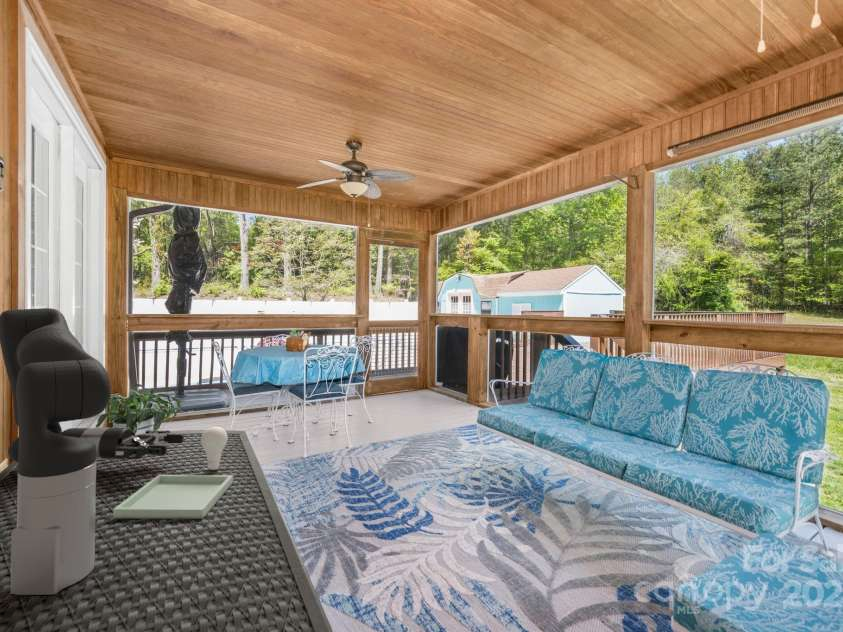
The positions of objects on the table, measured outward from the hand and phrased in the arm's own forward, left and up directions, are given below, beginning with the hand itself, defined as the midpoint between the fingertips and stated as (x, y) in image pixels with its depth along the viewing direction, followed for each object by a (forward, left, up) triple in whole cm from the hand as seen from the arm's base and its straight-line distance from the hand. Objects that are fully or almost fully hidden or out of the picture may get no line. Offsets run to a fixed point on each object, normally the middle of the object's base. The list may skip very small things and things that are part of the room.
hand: (175, 444), depth 108 cm
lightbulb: (0, -10, -7) cm, 12 cm away
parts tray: (-16, -8, -7) cm, 19 cm away
